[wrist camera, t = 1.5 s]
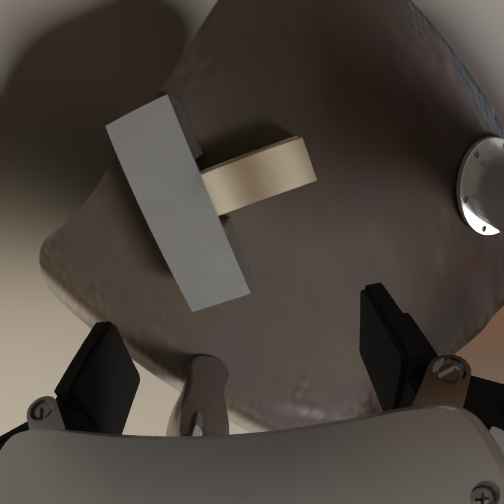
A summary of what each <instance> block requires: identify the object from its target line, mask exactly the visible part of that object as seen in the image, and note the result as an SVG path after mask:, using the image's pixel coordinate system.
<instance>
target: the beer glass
mask: <svg viewBox="0 0 504 504" xmlns="http://www.w3.org/2000/svg"><path fill="white" fill-rule="evenodd" d="M228 376H229V371H228V368H227V366H226V365H225V363H223V362H222V361H221V360H219V359H217V358H215V357H212V356H207V355H200V356H195V357H193V358H191V359H189V360H188V361H187V362H186V364H185V366H184V385H183V389H182V391H181V394H180V396H179V398H178V400H177V402H176V404H175V406H174V409H173V411H172V414H171V416H170V419H169V423H168V427H167V432H166V436H215V435H229V421H228V414H227V408H226V403H225V396H224V391H225V385H226V382H227V380H228Z"/></svg>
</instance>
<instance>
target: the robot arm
mask: <svg viewBox="0 0 504 504" xmlns="http://www.w3.org/2000/svg"><path fill="white" fill-rule="evenodd" d="M456 194H457V203H458V207H459V211H460V213H461V215H462V218H463V219H464V221H465V222H466V224H467V225H468V226H469V227H470V228H471V229H473V230H474V231H476V232H478V233H480V234H483V235H492V234H496V233H498V232H502V233H503V234H504V139H502V138H498V137H485V138H481V139H480V140H478V141H476V142H475V143H474V144H473V145H472V146H471V147H470V148H469V150H468V151H467V153H466V154H465V156H464V158H463V160H462V162H461V165H460V169H459V172H458V178H457V188H456ZM359 347H360V354H361V357H362V360H363V362H364V364H365V367H366V369H367V372H368V374H369V377H370V379H371V382H372V384H373V387H374V389H375V392H376V394H377V397H378V399H379V402H380V405H381V407H382V410H383V412H379V413H374V414H369V415H364V416H360V417H355V418H350V419H345V420H340V421H334V422H328V423H323V424H317V425H311V426H305V427H298V428H291V429H284V430H275V431H267V432H257V433H246V434H233V435H215V436H136V435H122V432H123V429H124V426H125V423H126V420H127V417H128V414H129V412H130V408H131V406H132V403H133V400H134V397H135V394H136V391H137V389H138V385H139V383H140V376H139V373H138V371H137V369H136V367H135V365H134V363H133V361H132V359H131V357H130V355H129V353H128V351H127V349H126V347H125V344H124V342H123V340H122V338H121V336H120V334H119V331H118V329H117V327H116V326H115V325H113V324H112V323H111V322H98V323H96V324H95V325H94V327H93V328H92V330H91V331H90V333H89V335H88V336H87V338H86V339H85V341H84V342H83V344H82V346H81V347H80V349H79V350H78V352H77V354H76V355H75V357H74V358H73V360H72V362H71V363H70V365H69V367H68V368H67V370H66V372H65V373H64V375H63V377H62V378H61V380H60V382H59V384H58V385H57V387H56V389H55V393H56V395H57V398H56V400H55V399H54V398H53V397H50V396H44V397H41V398H39V399H37V400H35V401H34V402H33V403H32V404H31V405H30V407H29V408H28V411H27V422H26V423H24V424H22V425H20V426H18V427H16V428H15V429H13V430H11V431H9V432H7V433H6V434H4V435H2V436H0V504H504V384H500V383H497V382H493V381H489V380H486V379H482V378H479V377H475V376H471V367H470V365H469V363H468V362H467V361H466V360H465V359H463V358H462V357H460V356H457V355H454V354H443V355H440V356H438V355H437V353H436V352H435V350H434V349H433V347H432V346H431V345H430V343H429V342H428V340H427V339H426V337H425V336H424V334H423V333H422V331H421V330H420V328H419V327H418V326H417V324H416V323H415V321H414V320H413V319H412V317H411V316H410V315H409V314H408V313H402V311H401V310H400V308H399V307H398V306H397V304H396V303H395V301H394V300H393V298H392V297H391V296H390V294H389V293H388V291H387V290H386V289H385V287H384V286H383V285H382V283H376V284H371V285H366V286H365V290H361V294H360V346H359Z"/></svg>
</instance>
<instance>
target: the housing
mask: <svg viewBox="0 0 504 504" xmlns="http://www.w3.org/2000/svg"><path fill="white" fill-rule="evenodd" d="M106 129H107V132H108V134H109V137H110V139H111V142H112V144H113V147H114V149H115V152H116V154H117V156H118V159H119V161H120V163H121V166H122V168H123V170H124V173H125V175H126V177H127V180H128V182H129V184H130V186H131V189H132V191H133V193H134V195H135V198H136V200H137V202H138V204H139V206H140V208H141V211H142V213H143V215H144V217H145V219H146V221H147V223H148V225H149V228H150V230H151V232H152V234H153V236H154V238H155V240H156V242H157V244H158V246H159V248H160V250H161V252H162V254H163V256H164V258H165V260H166V262H167V264H168V266H169V268H170V270H171V272H172V274H173V276H174V278H175V280H176V282H177V284H178V285H179V287H180V289H181V291H182V293H183V295H184V297H185V299H186V300H187V302H188V304H189V306H190V308H191V310H192V312H194V311H197V310H200V309H204V308H207V307H210V306H213V305H216V304H219V303H223V302H226V301H229V300H232V299H235V298H238V297H241V296H244V295H247V294H250V293H251V277H250V265H249V263H248V261H247V258H246V256H245V253H244V251H243V249H242V246H241V244H240V241H239V239H238V236H237V234H236V232H235V229H234V227H233V224H232V222H231V220H230V217H229V218H226V219H224V220H221V219H220V217H219V215H218V212H217V210H216V207H215V205H214V203H213V200H212V198H211V196H210V193H209V191H208V188H207V186H206V184H205V181H204V179H203V176H202V174H201V172H200V169H199V167H198V164H197V162H196V160H195V159H196V158H198V157H199V156H201V155H202V154H203V151H202V149H201V147H200V144H199V142H198V139H197V137H196V134H195V132H194V129H193V127H192V124H191V122H190V119H189V117H188V115H187V112H186V110H185V107H184V105H183V102H182V100H181V99H180V98H177V97H174V96H171V95H168V94H167V95H165V96H162V97H160V98H158V99H156V100H154V101H152V102H150V103H148V104H146V105H144V106H142V107H140V108H138V109H136V110H134V111H132V112H130V113H128V114H126V115H125V116H123V117H121V118H119V119H117V120H115V121H113V122H112V123H110V124H108V125H106Z"/></svg>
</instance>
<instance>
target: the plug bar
mask: <svg viewBox="0 0 504 504" xmlns="http://www.w3.org/2000/svg"><path fill="white" fill-rule="evenodd" d="M200 172H201V174H202V176H203V179H204V181H205V184H206V186H207V188H208V191H209V193H210V196H211V198H212V200H213V203H214V205H215V207H216V210H217V212H218V215H222V214H225V213H227V212H230V211H233V210H235V209H238V208H241V207H244V206H246V205H249V204H252V203H255V202H257V201H260V200H263V199H266V198H268V197H271V196H274V195H277V194H280V193H283V192H285V191H288V190H291V189H294V188H297V187H300V186H303V185H306V184H309V183H311V182H314V181H317V179H316V176H315V173H314V170H313V167H312V164H311V161H310V158H309V155H308V152H307V149H306V146H305V143H304V141H303V138H302V137H298V136H294V137H291V138H288V139H285V140H282V141H279V142H276V143H273V144H270V145H268V146H265V147H262V148H259V149H256V150H254V151H251V152H248V153H245V154H243V155H240V156H237V157H235V158H232V159H229V160H227V161H224V162H222V163H219V164H217V165H214V166H211V167H209V168H206V169H204V170H202V171H200Z"/></svg>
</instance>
